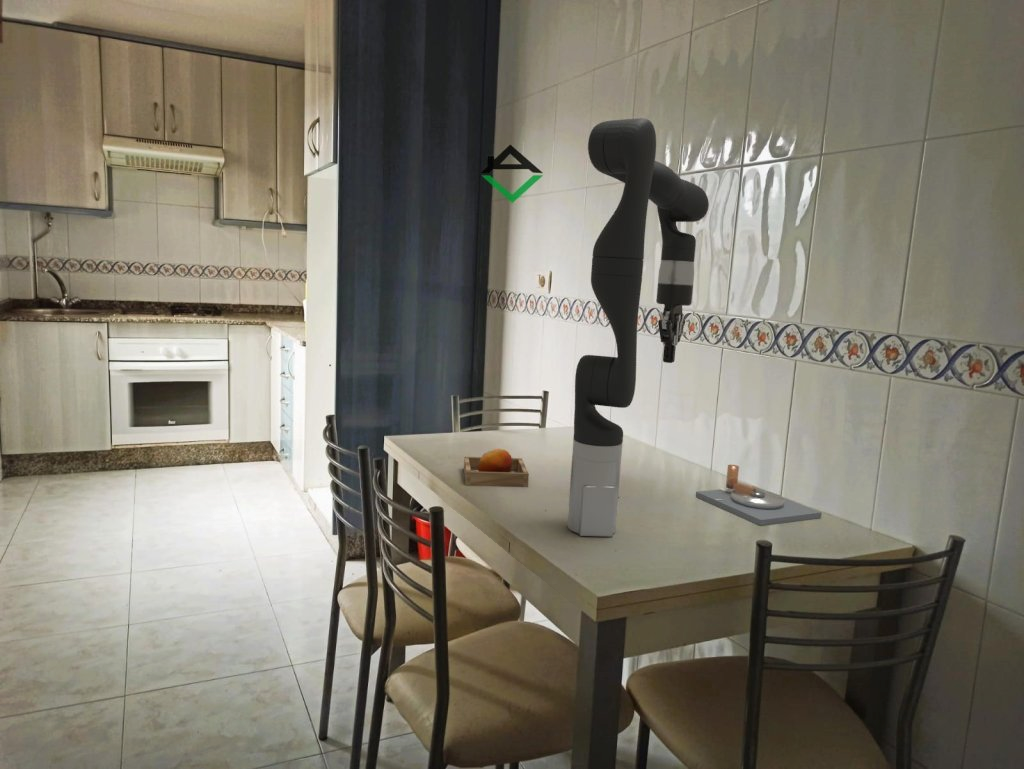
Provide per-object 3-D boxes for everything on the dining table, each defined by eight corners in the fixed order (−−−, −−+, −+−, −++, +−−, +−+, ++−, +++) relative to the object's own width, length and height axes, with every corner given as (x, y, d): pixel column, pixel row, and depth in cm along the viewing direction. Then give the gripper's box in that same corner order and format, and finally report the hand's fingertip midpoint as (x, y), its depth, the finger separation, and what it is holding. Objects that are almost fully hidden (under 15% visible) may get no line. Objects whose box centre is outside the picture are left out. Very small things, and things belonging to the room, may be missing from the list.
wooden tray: (528, 486, 168) (528, 474, 168) (466, 485, 167) (466, 472, 166) (521, 470, 182) (521, 458, 182) (463, 468, 181) (464, 456, 180)
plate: (820, 517, 158) (821, 511, 157) (759, 525, 150) (760, 518, 150) (752, 490, 175) (753, 484, 175) (694, 496, 168) (695, 490, 168)
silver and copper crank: (794, 504, 161) (797, 477, 160) (763, 512, 155) (766, 483, 154) (741, 488, 172) (744, 462, 171) (710, 494, 166) (713, 467, 165)
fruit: (507, 480, 168) (493, 447, 169) (481, 491, 172) (468, 459, 173) (525, 472, 175) (512, 441, 176) (500, 484, 179) (487, 453, 180)
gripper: (684, 282, 153) (677, 366, 156) (700, 284, 165) (693, 362, 167) (649, 281, 157) (642, 362, 159) (667, 282, 168) (660, 358, 171)
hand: (668, 362), depth 163 cm, fingers closed
